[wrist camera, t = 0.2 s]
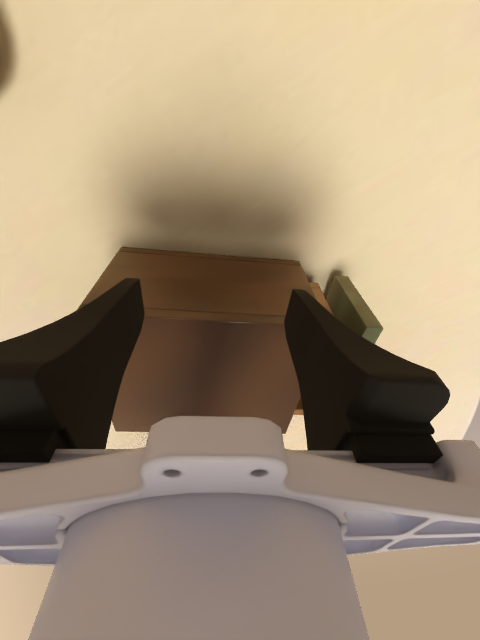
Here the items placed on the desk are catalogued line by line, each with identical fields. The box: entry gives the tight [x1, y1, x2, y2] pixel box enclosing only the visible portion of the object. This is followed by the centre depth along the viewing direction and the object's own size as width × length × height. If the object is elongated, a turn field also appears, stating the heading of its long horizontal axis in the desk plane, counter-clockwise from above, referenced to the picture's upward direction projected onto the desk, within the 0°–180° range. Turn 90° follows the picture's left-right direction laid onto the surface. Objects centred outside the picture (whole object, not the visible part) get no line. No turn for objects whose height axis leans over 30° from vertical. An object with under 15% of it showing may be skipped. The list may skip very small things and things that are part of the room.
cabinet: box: [77, 247, 317, 434], centre depth 23 cm, size 15×13×9 cm
